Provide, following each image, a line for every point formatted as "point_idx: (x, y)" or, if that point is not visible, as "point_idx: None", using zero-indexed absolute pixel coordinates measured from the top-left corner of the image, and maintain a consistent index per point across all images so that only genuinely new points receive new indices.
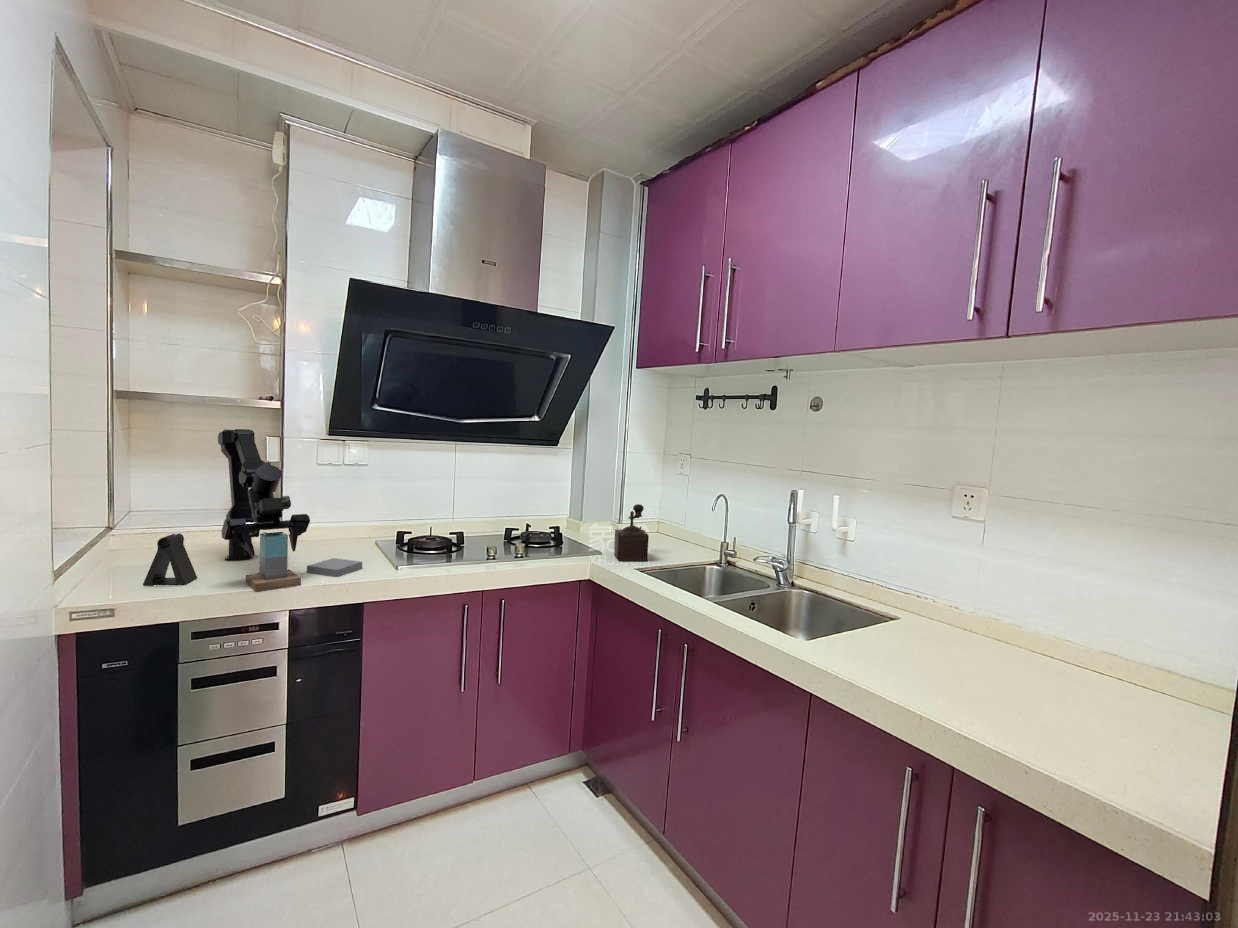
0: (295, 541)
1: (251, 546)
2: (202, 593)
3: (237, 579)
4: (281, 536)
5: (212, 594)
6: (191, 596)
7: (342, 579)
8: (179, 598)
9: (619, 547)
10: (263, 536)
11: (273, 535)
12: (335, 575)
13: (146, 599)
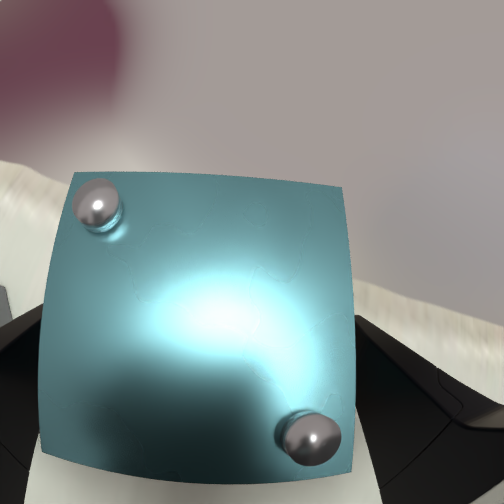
0: (14, 323)
1: (388, 342)
2: (423, 349)
3: (304, 489)
4: (147, 178)
5: (404, 321)
6: (443, 330)
7: (11, 243)
8: (462, 325)
9: None
10: (347, 285)
11: (229, 229)
12: (3, 293)
13: (499, 354)
